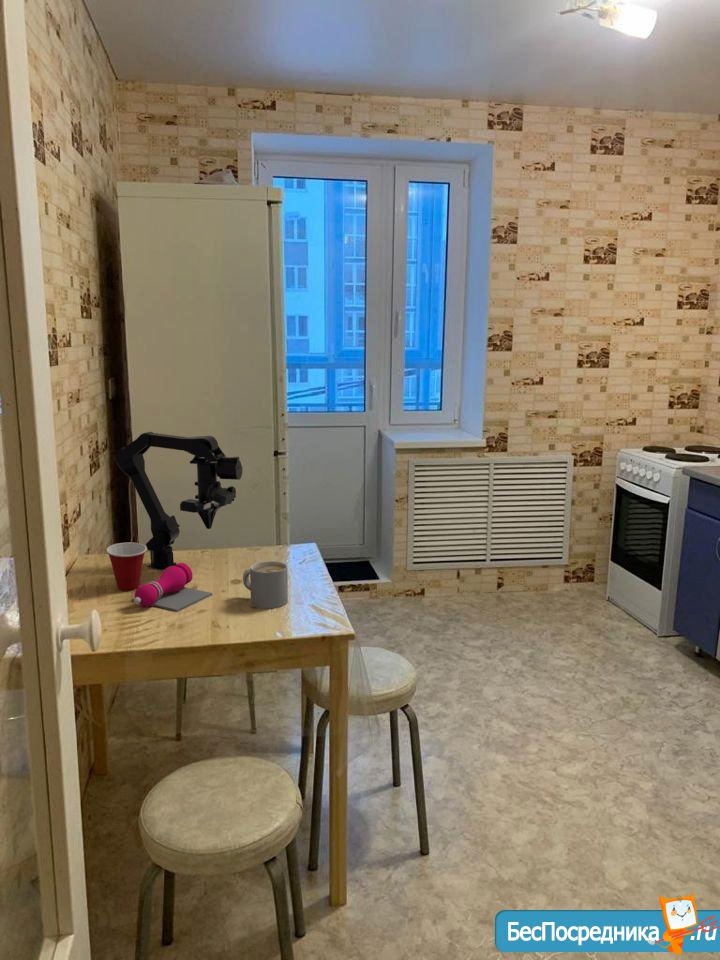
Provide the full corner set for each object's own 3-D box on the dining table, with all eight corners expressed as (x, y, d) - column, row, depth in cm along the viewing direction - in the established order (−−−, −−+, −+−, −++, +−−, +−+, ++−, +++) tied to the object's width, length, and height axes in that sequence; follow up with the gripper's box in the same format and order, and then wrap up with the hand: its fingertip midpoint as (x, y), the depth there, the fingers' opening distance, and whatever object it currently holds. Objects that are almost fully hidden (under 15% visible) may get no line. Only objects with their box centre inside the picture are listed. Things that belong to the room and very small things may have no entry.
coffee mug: (295, 601, 189) (295, 566, 187) (267, 611, 182) (267, 575, 180) (262, 589, 198) (262, 556, 196) (235, 599, 191) (234, 564, 189)
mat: (132, 600, 189) (132, 598, 188) (168, 585, 201) (168, 583, 201) (177, 611, 181) (177, 609, 181) (212, 595, 193) (212, 593, 193)
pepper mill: (180, 555, 197) (131, 583, 179) (198, 573, 196) (150, 602, 178) (169, 572, 200) (120, 600, 182) (187, 589, 199) (139, 620, 181)
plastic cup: (124, 597, 191) (121, 555, 189) (101, 589, 197) (98, 548, 195) (156, 586, 200) (154, 546, 197) (133, 578, 206) (131, 539, 204)
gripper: (207, 486, 198) (209, 539, 201) (247, 475, 214) (248, 525, 217) (177, 482, 203) (179, 534, 206) (219, 472, 219) (220, 520, 222)
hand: (208, 528), depth 212 cm, fingers closed
